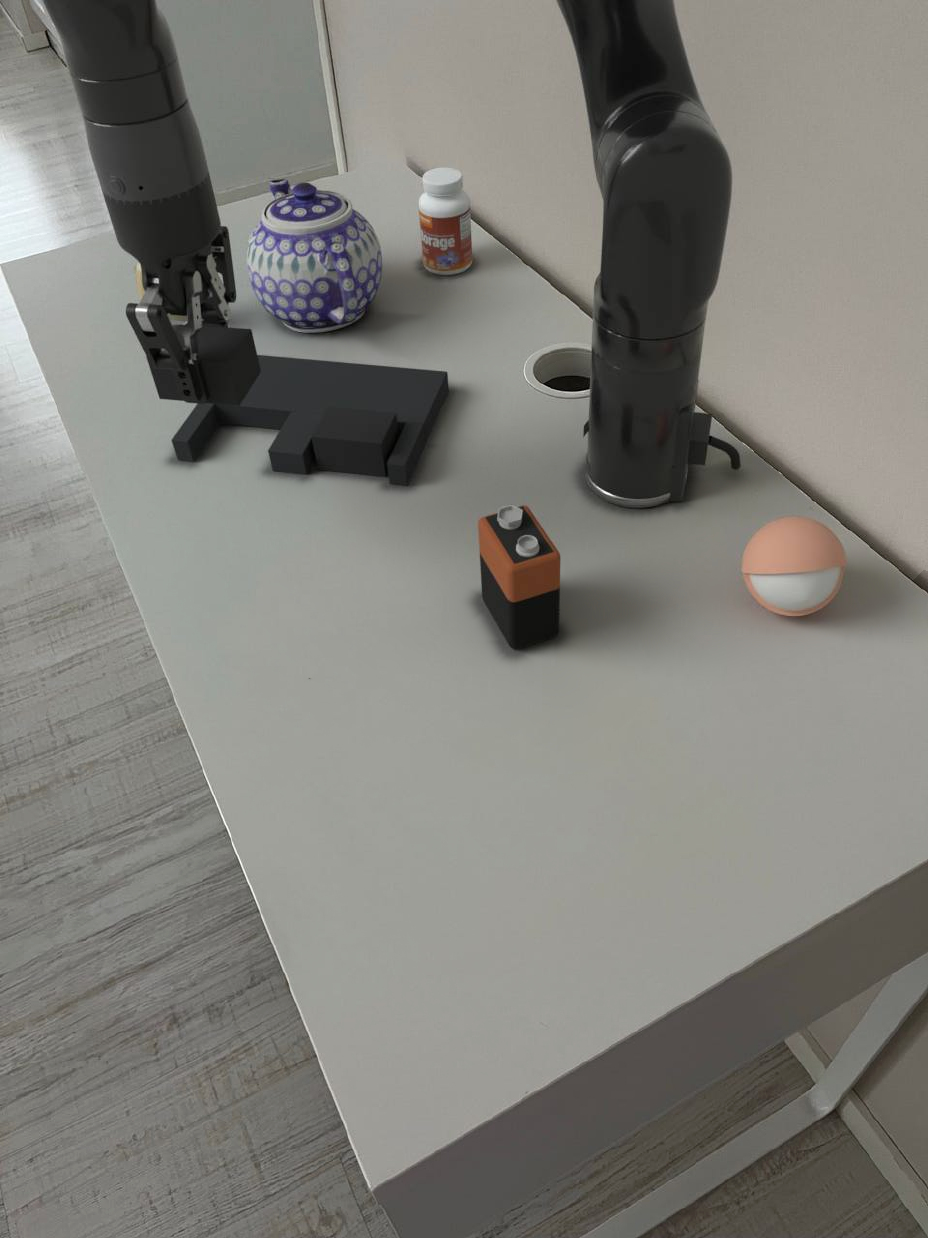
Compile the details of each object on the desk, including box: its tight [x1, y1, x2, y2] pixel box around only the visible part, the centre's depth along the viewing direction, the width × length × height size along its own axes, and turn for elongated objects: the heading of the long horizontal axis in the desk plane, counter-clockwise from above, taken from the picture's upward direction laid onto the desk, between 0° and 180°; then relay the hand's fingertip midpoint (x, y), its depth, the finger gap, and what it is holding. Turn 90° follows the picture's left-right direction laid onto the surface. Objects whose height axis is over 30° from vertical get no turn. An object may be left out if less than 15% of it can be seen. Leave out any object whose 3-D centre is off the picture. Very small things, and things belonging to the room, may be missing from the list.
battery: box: [477, 504, 561, 650], centre depth 81 cm, size 4×7×10 cm, turn 21°
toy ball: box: [741, 515, 848, 617], centre depth 81 cm, size 8×8×8 cm
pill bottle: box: [418, 167, 473, 276], centre depth 123 cm, size 6×6×11 cm
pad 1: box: [145, 326, 261, 406], centre depth 83 cm, size 7×5×4 cm
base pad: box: [171, 354, 450, 487], centre depth 104 cm, size 24×16×2 cm, turn 76°
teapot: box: [246, 178, 383, 334], centre depth 116 cm, size 25×15×15 cm, turn 21°
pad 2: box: [312, 407, 399, 478], centre depth 99 cm, size 7×5×4 cm
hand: (210, 380), depth 84 cm, fingers closed on pad 1, 5 cm apart
